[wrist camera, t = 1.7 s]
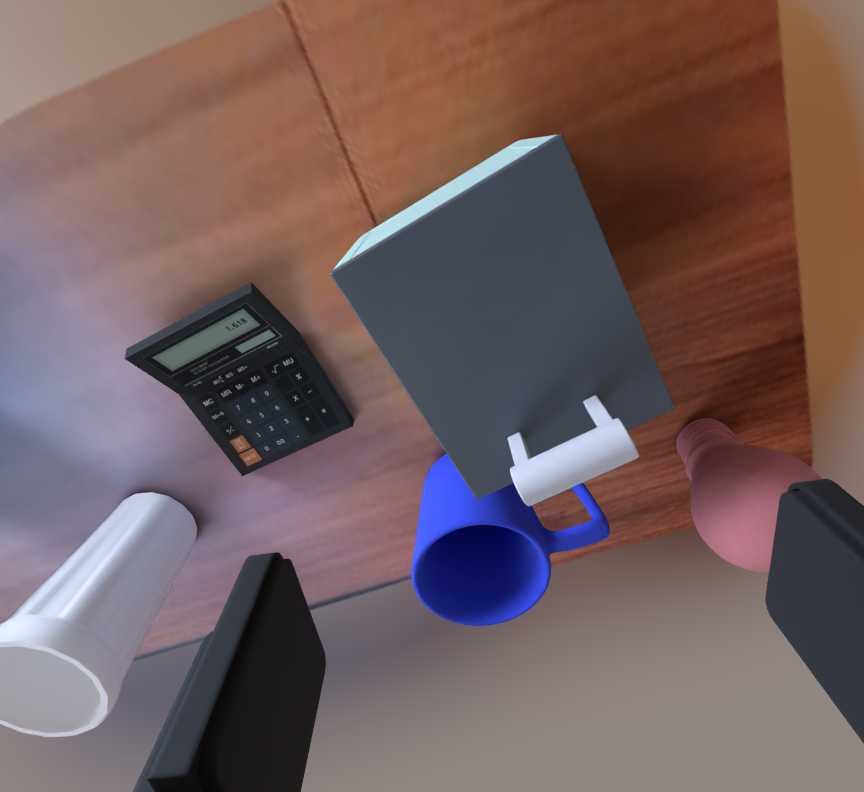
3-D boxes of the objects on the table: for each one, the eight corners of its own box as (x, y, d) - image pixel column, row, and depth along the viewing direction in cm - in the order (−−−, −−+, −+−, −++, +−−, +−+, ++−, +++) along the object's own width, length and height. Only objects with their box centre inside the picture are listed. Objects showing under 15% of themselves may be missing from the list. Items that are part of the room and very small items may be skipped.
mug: (584, 491, 40) (629, 590, 31) (436, 534, 42) (439, 640, 33) (558, 401, 37) (600, 482, 28) (399, 452, 38) (390, 544, 29)
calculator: (246, 469, 39) (232, 493, 36) (144, 337, 35) (120, 352, 32) (354, 420, 37) (348, 441, 35) (262, 274, 33) (247, 285, 30)
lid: (669, 401, 26) (725, 460, 21) (475, 491, 28) (485, 563, 23) (557, 134, 21) (597, 128, 16) (332, 269, 23) (305, 301, 18)
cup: (85, 493, 40) (-81, 657, 27) (180, 467, 39) (55, 624, 26) (140, 570, 43) (16, 750, 30) (228, 548, 42) (139, 723, 29)
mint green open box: (602, 327, 34) (663, 388, 25) (458, 400, 37) (468, 480, 28) (518, 139, 30) (557, 134, 21) (359, 236, 32) (332, 269, 23)
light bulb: (628, 467, 39) (704, 588, 28) (668, 383, 36) (770, 482, 25) (714, 485, 40) (821, 611, 29) (761, 404, 37) (899, 510, 26)
